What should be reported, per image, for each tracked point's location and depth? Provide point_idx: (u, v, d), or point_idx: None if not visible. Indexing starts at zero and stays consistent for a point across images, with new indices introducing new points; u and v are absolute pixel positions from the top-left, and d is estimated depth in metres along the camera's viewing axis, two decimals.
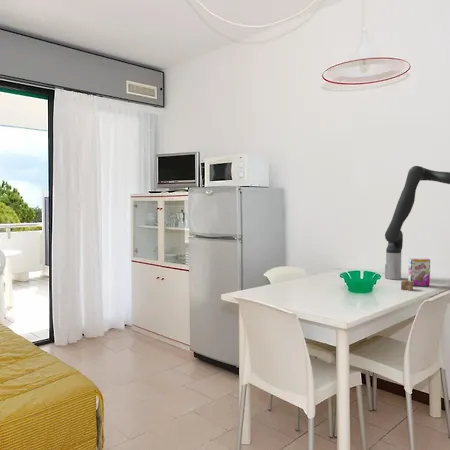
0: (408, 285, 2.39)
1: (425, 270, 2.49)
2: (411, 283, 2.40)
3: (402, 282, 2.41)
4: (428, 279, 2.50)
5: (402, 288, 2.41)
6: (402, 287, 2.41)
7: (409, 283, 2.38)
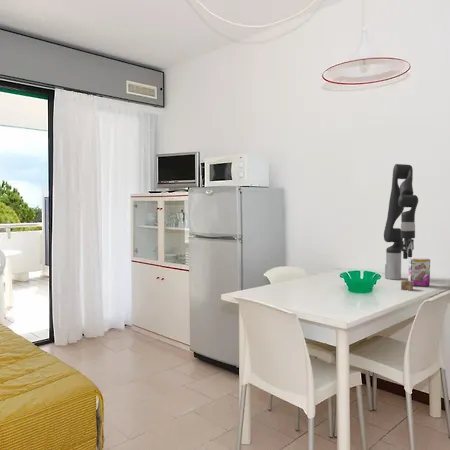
0: (408, 285, 2.39)
1: (425, 270, 2.49)
2: (411, 283, 2.40)
3: (402, 282, 2.41)
4: (428, 279, 2.50)
5: (402, 288, 2.41)
6: (402, 287, 2.41)
7: (409, 283, 2.38)
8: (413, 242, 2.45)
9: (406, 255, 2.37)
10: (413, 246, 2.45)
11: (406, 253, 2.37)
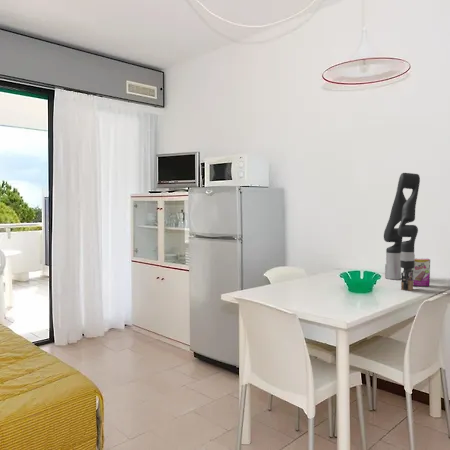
0: (408, 285, 2.39)
1: (425, 270, 2.49)
2: (411, 283, 2.40)
3: (402, 282, 2.41)
4: (428, 279, 2.50)
5: (402, 288, 2.41)
6: (402, 287, 2.41)
7: (409, 283, 2.38)
8: (412, 273, 2.45)
9: (406, 286, 2.39)
10: (412, 277, 2.45)
11: (406, 284, 2.39)
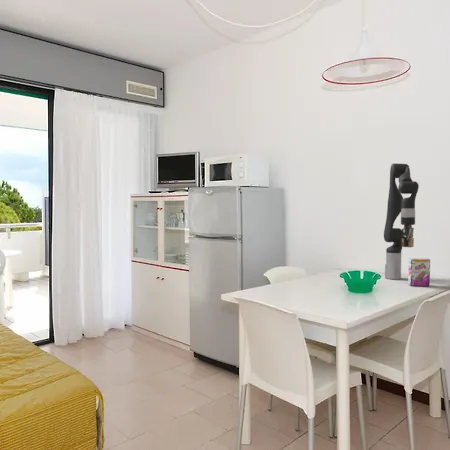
0: (409, 241, 2.38)
1: (425, 270, 2.49)
2: (412, 240, 2.38)
3: None
4: (428, 279, 2.50)
5: (403, 245, 2.40)
6: (403, 244, 2.40)
7: (410, 239, 2.37)
8: None
9: (407, 243, 2.38)
10: (412, 234, 2.44)
11: (407, 241, 2.37)
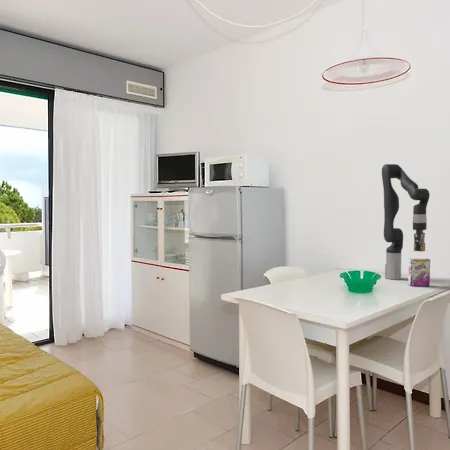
0: (421, 246, 2.49)
1: (425, 270, 2.49)
2: (423, 244, 2.49)
3: None
4: (428, 279, 2.50)
5: (415, 249, 2.51)
6: (415, 248, 2.51)
7: (422, 244, 2.48)
8: (424, 235, 2.55)
9: (419, 247, 2.49)
10: None
11: (419, 245, 2.49)
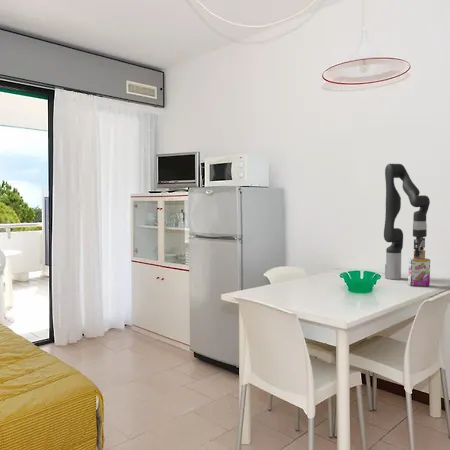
0: (420, 254, 2.49)
1: (425, 270, 2.49)
2: (423, 252, 2.50)
3: None
4: (428, 279, 2.50)
5: (415, 257, 2.51)
6: (415, 256, 2.51)
7: (421, 252, 2.48)
8: (424, 241, 2.56)
9: (418, 253, 2.48)
10: (424, 244, 2.56)
11: (418, 251, 2.48)
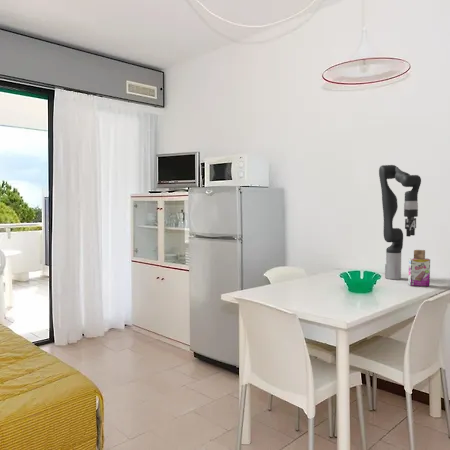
0: (420, 254, 2.49)
1: (425, 270, 2.49)
2: (423, 252, 2.50)
3: (415, 251, 2.51)
4: (428, 279, 2.50)
5: (415, 257, 2.51)
6: (415, 256, 2.51)
7: (421, 252, 2.48)
8: None
9: (409, 233, 2.46)
10: None
11: (409, 231, 2.46)
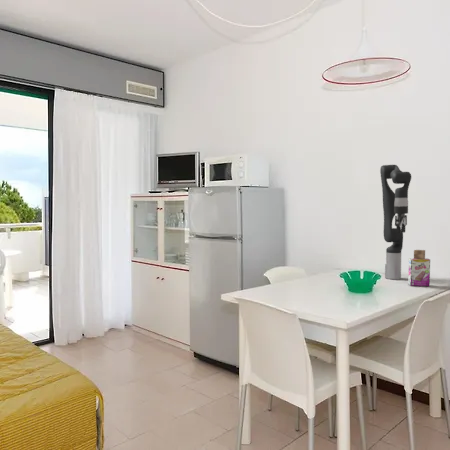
0: (420, 254, 2.49)
1: (425, 270, 2.49)
2: (423, 252, 2.50)
3: (415, 251, 2.51)
4: (428, 279, 2.50)
5: (415, 257, 2.51)
6: (415, 256, 2.51)
7: (421, 252, 2.48)
8: (406, 218, 2.53)
9: (399, 230, 2.45)
10: (406, 222, 2.53)
11: (399, 228, 2.45)
